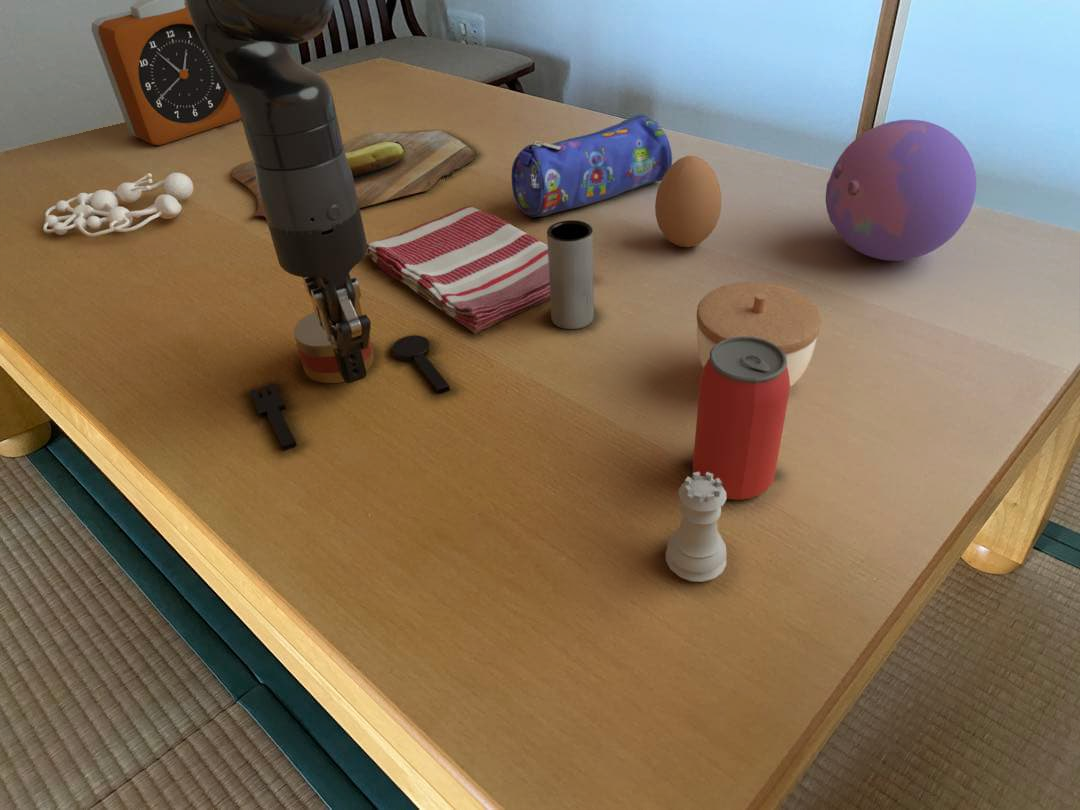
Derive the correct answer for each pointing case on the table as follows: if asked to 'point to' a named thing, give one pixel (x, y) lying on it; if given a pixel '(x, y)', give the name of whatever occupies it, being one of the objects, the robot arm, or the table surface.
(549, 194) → the pencil case
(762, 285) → the trinket box
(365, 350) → the tin can
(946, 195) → the decorative ball
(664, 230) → the egg
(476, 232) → the dish towel
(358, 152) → the cutting board
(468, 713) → the table surface
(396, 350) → the spoon
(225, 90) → the alarm clock
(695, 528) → the rook chess piece
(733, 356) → the beer can
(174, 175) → the tangled rod sculpture
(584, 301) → the grey hollow cylinder
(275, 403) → the fork
